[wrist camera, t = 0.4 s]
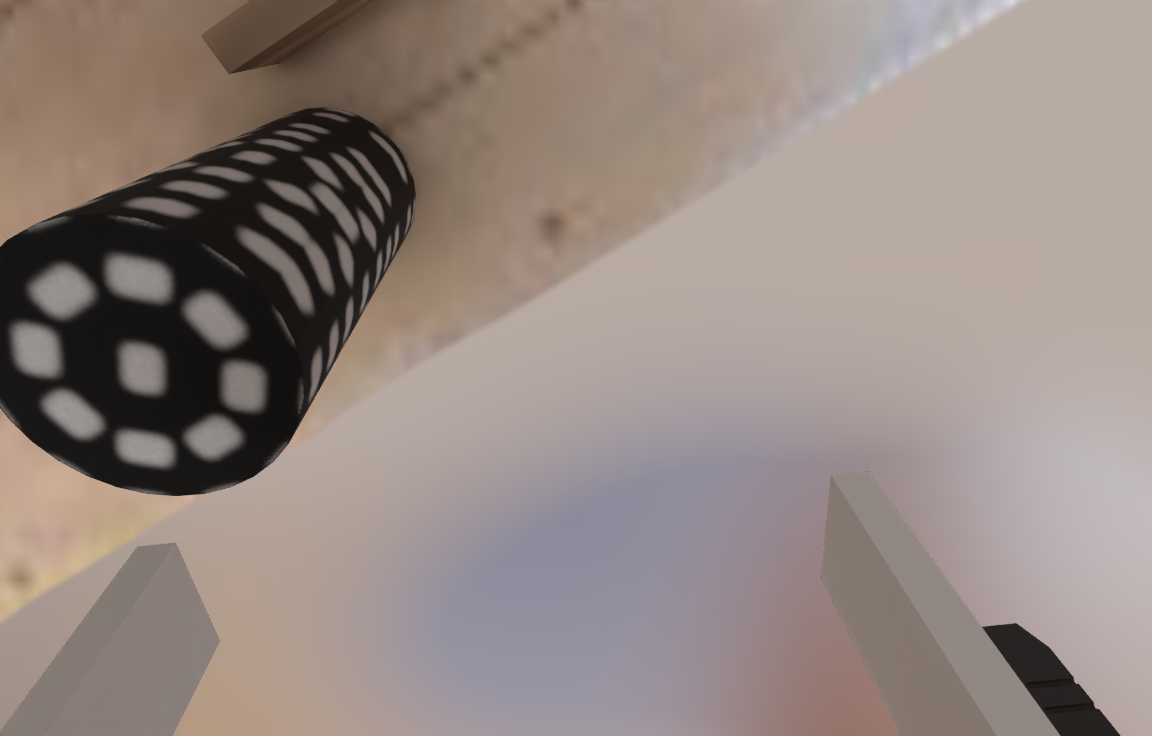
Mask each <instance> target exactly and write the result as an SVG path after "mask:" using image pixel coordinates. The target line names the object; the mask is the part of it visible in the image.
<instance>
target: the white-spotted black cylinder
mask: <svg viewBox="0 0 1152 736" xmlns="http://www.w3.org/2000/svg"><path fill="white" fill-rule="evenodd" d="M415 199H416V194H415V188H414V182H413V178H412V175H411V172H410V169H409V167H408V164H407V162H406V160H405V159H404V157H403V155H402V154H401V152H400V150H399V149H398V147H397V146H396V145H395V144H394V143H393V142H392V140H391V139H390V138H389V137H388V136H387V135H386V134H385V133H384V132H382V131H381V130H380V129H379V128H378V127H376V126H375V125H374V124H372V123H370V122H369V121H367V120H365V119H363V118H362V117H360V116H358V115H355V114H352V113H349V112H346V111H343V110H338V109H331V108H311V109H305V110H302V111H298V112H295V113H292V114H289V115H287V116H285V117H282V118H280V119H278V120H275V121H273V122H271V123H268V124H266V125H264V126H262V127H259V128H257V129H255V130H252V131H250V132H248V133H245V134H243V135H241V136H238V137H236V138H234V139H231V140H229V141H227V142H225V143H222V144H220V145H218V146H215V147H213V148H211V149H208V150H206V151H204V152H201V153H199V154H197V155H194V156H192V157H190V158H187V159H185V160H183V161H181V162H178V163H176V164H174V165H171V166H169V167H167V168H164V169H162V170H160V171H157V172H155V173H153V174H150V175H148V176H146V177H144V178H141V179H139V180H137V181H134V182H132V183H130V184H127V185H125V186H123V187H120V188H118V189H116V190H113V191H111V192H109V193H107V194H104V195H102V196H100V197H97V198H95V199H93V200H90V201H88V202H86V203H83V204H81V205H79V206H76V207H74V208H72V209H69V210H67V211H65V212H63V213H60V214H58V215H56V216H53V217H51V218H49V219H46V220H44V221H42V222H39V223H37V224H35V225H33V226H31V227H29V228H28V229H26V230H24V231H22V232H20V233H19V234H17V235H15V236H13V237H12V238H10V239H8V240H7V241H6V242H5V243H4V244H3V245H2V246H1V247H0V408H1V409H2V411H3V412H4V413H5V415H6V416H7V417H8V419H9V420H10V421H11V422H12V423H13V424H14V425H15V426H16V427H18V428H19V429H20V430H21V431H22V432H23V433H24V434H25V435H26V436H27V437H28V438H29V439H30V440H31V441H32V442H33V443H35V444H36V445H37V446H39V447H40V448H42V449H43V450H44V451H46V452H47V453H48V454H50V455H51V456H53V457H54V458H55V459H57V460H58V461H60V462H62V463H64V464H66V465H67V466H69V467H71V468H73V469H75V470H77V471H79V472H81V473H82V474H84V475H86V476H89V477H91V478H94V479H97V480H99V481H102V482H105V483H107V484H110V485H113V486H115V487H119V488H124V489H128V490H133V491H137V492H142V493H146V494H158V495H171V496H182V495H195V494H206V493H210V492H214V491H218V490H222V489H226V488H230V487H232V486H234V485H236V484H239V483H241V482H243V481H245V480H247V479H250V478H252V477H254V476H255V475H257V474H258V473H259V472H260V471H262V470H263V469H264V468H266V467H267V466H268V465H270V464H271V463H273V462H274V461H275V459H276V458H277V457H278V456H279V455H280V453H281V452H282V451H283V450H284V449H285V447H286V446H287V445H288V444H289V442H290V440H291V439H292V437H293V435H294V433H295V431H296V430H297V428H298V426H299V424H300V423H301V421H302V419H303V417H304V416H305V414H306V412H307V410H308V409H309V407H310V405H311V403H312V401H313V400H314V398H315V396H316V394H317V393H318V391H319V389H320V387H321V386H322V384H323V382H324V380H325V378H326V377H327V375H328V373H329V371H330V370H331V368H332V366H333V364H334V363H335V361H336V359H337V357H338V355H339V354H340V352H341V350H342V348H343V347H344V345H345V343H346V341H347V340H348V338H349V336H350V334H351V333H352V331H353V329H354V327H355V325H356V324H357V322H358V320H359V318H360V317H361V315H362V313H363V311H364V310H365V308H366V306H367V304H368V302H369V301H370V299H371V297H372V295H373V294H374V292H375V290H376V288H377V287H378V285H379V283H380V281H381V280H382V278H383V276H384V274H385V272H386V271H387V269H388V267H389V265H390V264H391V262H392V260H393V258H394V257H395V255H396V253H397V251H398V249H399V248H400V246H401V244H402V242H403V241H404V239H405V237H406V235H407V233H408V231H409V229H410V227H411V225H412V221H413V217H414V213H415Z"/></svg>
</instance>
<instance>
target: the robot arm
mask: <svg viewBox="0 0 1152 736" xmlns="http://www.w3.org/2000/svg"><path fill="white" fill-rule="evenodd" d="M821 579H822V581H823V583H824V585H825V587H826V589H827V591H828V593H829V595H830V597H831V599H832V601H833V603H834V605H835V607H836V609H837V611H838V613H839V615H840V617H841V619H842V621H843V623H844V624H845V627H846V629H847V631H848V633H849V635H850V637H851V639H852V641H853V643H854V645H855V647H856V649H857V651H858V653H859V655H860V657H861V659H862V661H863V663H864V665H865V666H866V668H867V671H868V673H869V674H870V677H871V679H872V681H873V683H874V684H875V687H876V689H877V691H878V693H879V694H880V697H881V699H882V701H883V703H884V704H885V706H886V708H887V710H888V712H889V714H890V716H891V718H892V720H893V722H894V724H895V726H896V728H897V730H898V732H899V734H900V736H1120V735H1119V733H1118V732H1117V731H1116V730H1115V728H1114V727H1113V726H1112V725H1111V723H1110V722H1109V721H1108V720H1107V718H1106V717H1105V716H1104V715H1103V714H1102V712H1101V711H1100V710H1099V709H1096V708H1095V707H1094V702H1093V701H1092V700H1091V699H1090V697H1089V696H1088V695H1087V694H1086V692H1085V691H1084V690H1083V689H1082V688H1081V686H1080V685H1079V684H1076V683H1075V682H1074V677H1073V676H1072V675H1071V674H1070V672H1069V671H1068V670H1067V669H1066V668H1065V666H1064V665H1063V664H1062V663H1061V661H1060V660H1059V659H1058V658H1057V656H1056V655H1055V654H1054V653H1053V651H1051V649H1050V648H1049V647H1048V646H1046V645H1045V644H1044V643H1042V642H1041V641H1040V640H1038V639H1037V638H1036V637H1034V636H1033V635H1031V634H1030V633H1029V632H1027V631H1026V630H1025V629H1023V628H1022V627H1021V626H1019V625H1018V624H1016V623H1015V624H1006V625H996V626H986V627H981V625H980V624H979V623H978V621H977V620H976V618H975V617H974V616H973V614H972V613H971V612H970V610H969V609H968V607H967V606H966V605H965V603H964V602H963V600H962V599H961V598H960V596H959V595H958V593H957V592H956V591H955V589H954V588H953V587H952V585H951V584H950V582H949V581H948V580H947V578H946V577H945V576H944V574H943V573H942V571H941V570H940V569H939V567H938V566H937V565H936V563H935V562H934V560H933V559H932V558H931V556H930V555H929V554H928V552H927V551H926V549H925V548H924V547H923V545H922V544H921V542H920V541H919V540H918V538H917V537H916V535H915V534H914V533H913V531H912V530H911V529H910V527H909V526H908V524H907V523H906V522H905V521H904V519H903V517H902V516H901V515H900V513H899V512H898V511H897V509H896V508H895V506H894V505H893V504H892V502H891V501H890V500H889V498H888V497H887V495H886V494H885V493H884V491H883V490H882V488H881V487H880V486H879V484H878V483H877V482H876V480H875V479H874V477H873V476H872V475H871V473H870V472H869V471H864V472H855V473H845V474H835V475H831V479H830V490H829V500H828V511H827V520H826V531H825V541H824V552H823V562H822V572H821ZM219 642H220V639H219V637H218V635H217V633H216V631H215V628H214V626H213V624H212V622H211V619H210V617H209V615H208V613H207V611H206V608H205V606H204V604H203V602H202V600H201V597H200V595H199V593H198V591H197V589H196V586H195V584H194V582H193V580H192V578H191V576H190V573H189V571H188V569H187V567H186V564H185V562H184V560H183V558H182V556H181V553H180V551H179V549H178V547H177V545H176V543H168V544H159V545H149V546H140V547H137V548H136V549H135V550H134V552H133V553H132V554H131V556H130V557H129V559H128V560H127V561H126V563H125V564H124V565H123V567H122V568H121V569H120V571H119V572H118V573H117V575H116V576H115V577H114V579H113V580H112V581H111V583H110V584H109V585H108V587H107V588H106V590H105V591H104V592H103V593H102V595H101V596H100V598H99V599H98V600H97V602H96V603H95V604H94V606H93V607H92V608H91V610H90V611H89V613H88V614H87V615H86V616H85V618H84V619H83V620H82V622H81V623H80V624H79V626H78V627H77V629H76V630H75V631H74V633H73V634H72V635H71V637H70V638H69V639H68V641H67V642H66V643H65V645H64V646H63V648H62V649H61V650H60V651H59V653H58V654H57V655H56V657H55V658H54V660H53V661H52V662H51V664H50V665H49V666H48V668H47V669H46V670H45V672H44V673H43V674H42V676H41V677H40V679H39V680H38V681H37V683H36V684H35V685H34V686H33V688H32V689H31V691H30V692H29V693H28V695H27V696H26V697H25V699H24V700H23V701H22V703H21V704H20V705H19V707H18V708H17V710H16V711H15V712H14V713H13V715H12V716H11V717H10V719H9V720H8V721H7V723H6V724H5V726H4V727H3V728H2V730H1V731H0V736H173V734H174V732H175V730H176V728H177V726H178V724H179V722H180V720H181V717H182V716H183V714H184V712H185V710H186V708H187V706H188V704H189V702H190V700H191V698H192V696H193V694H194V692H195V690H196V688H197V686H198V684H199V682H200V680H201V678H202V676H203V674H204V672H205V670H206V667H207V666H208V664H209V662H210V660H211V658H212V656H213V654H214V652H215V650H216V648H217V646H218V644H219Z"/></svg>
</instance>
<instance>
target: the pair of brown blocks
mask: <svg viewBox="0 0 1152 736" xmlns="http://www.w3.org/2000/svg"><path fill="white" fill-rule="evenodd" d="M371 1H372V0H251V1H249V2H248V3H247V4H245V5H244V6H242V7H241V8H239V9H238V10H237V11H235V12H234V13H232V14H231V15H229V16H228V17H226V18H225V19H224V20H222V21H221V22H219V23H218V24H216V25H215V26H214V27H212V28H211V29H209V30H208V31H206V32H205V33H203V34H202V35H201V36H202V38H203V39H204V41H205V42H206V43H207V45H208V46H209V47H210V49H211V50H212V51H213V53H214V54H215V55H216V57H217V58H218V60H219V61H220V62H221V64H222V65H223V66H224V68H225V69H226V70H227V72H228V73H229V74H231V73H236V72H241V71H245V70H250V69H255V68H259V67H264V66H269V65H273V64H278V63H279V62H281V61H282V60H284V59H285V58H287V57H288V56H290V55H291V54H293V53H294V52H296V51H297V50H299V49H300V48H302V47H303V46H305V45H306V44H308V43H309V42H311V41H312V40H314V39H315V38H317V37H318V36H320V35H321V34H323V33H324V32H326V31H327V30H329V29H330V28H332V27H333V26H335V25H336V24H338V23H339V22H341V21H342V20H344V19H345V18H347V17H348V16H350V15H351V14H353V13H354V12H356V11H357V10H359V9H360V8H362V7H363V6H365V5H366V4H368V3H369V2H371Z"/></svg>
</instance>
